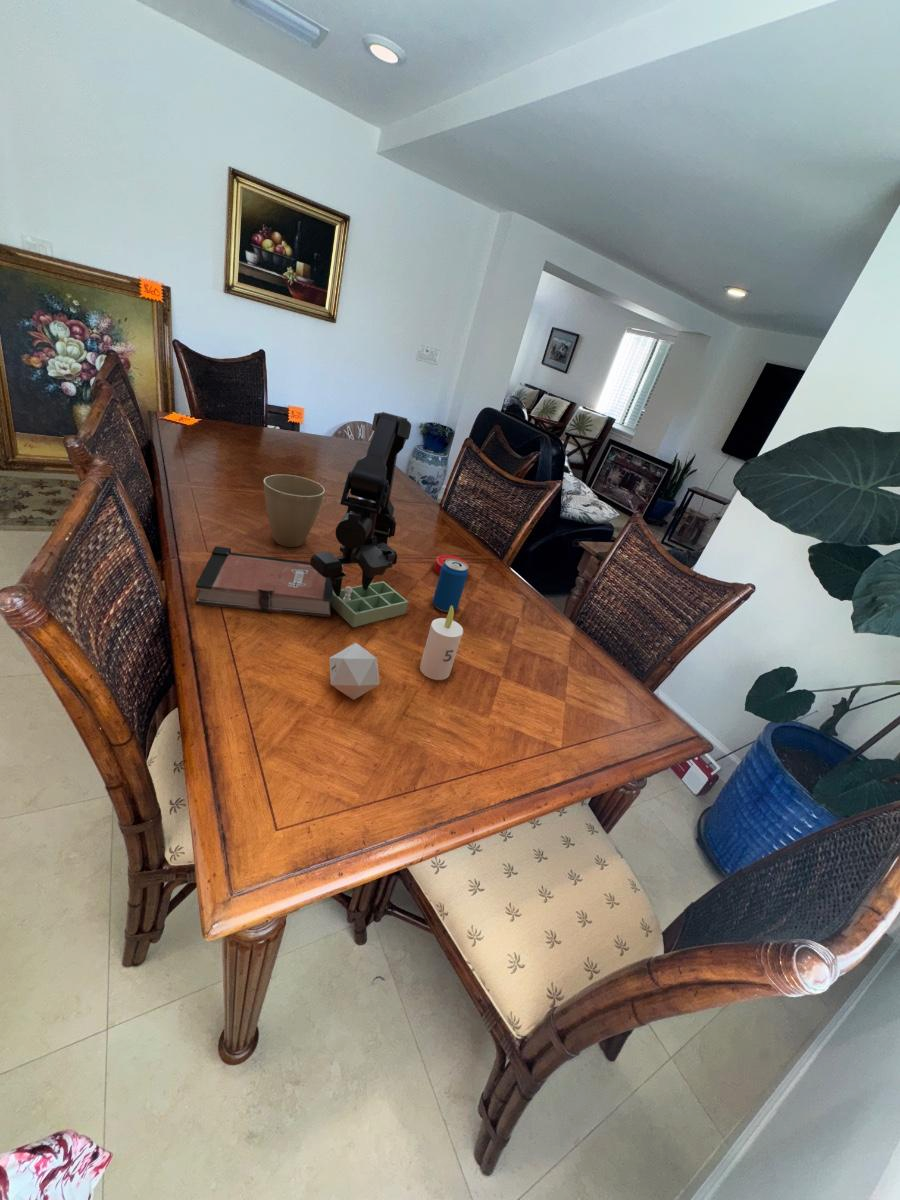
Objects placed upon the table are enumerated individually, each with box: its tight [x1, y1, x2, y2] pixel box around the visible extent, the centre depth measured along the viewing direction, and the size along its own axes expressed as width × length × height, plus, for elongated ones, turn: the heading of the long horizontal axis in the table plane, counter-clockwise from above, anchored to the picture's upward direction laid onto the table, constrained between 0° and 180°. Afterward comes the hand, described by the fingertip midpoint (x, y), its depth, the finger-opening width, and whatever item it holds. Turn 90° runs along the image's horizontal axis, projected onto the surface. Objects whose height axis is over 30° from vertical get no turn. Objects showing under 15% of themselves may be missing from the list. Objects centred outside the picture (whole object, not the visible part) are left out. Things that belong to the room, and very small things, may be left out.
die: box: [328, 642, 381, 701], centre depth 85 cm, size 8×9×10 cm
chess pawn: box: [343, 585, 352, 602], centre depth 107 cm, size 3×3×5 cm
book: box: [195, 545, 334, 618], centre depth 106 cm, size 26×18×5 cm
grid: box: [331, 580, 409, 628], centre depth 110 cm, size 10×15×3 cm
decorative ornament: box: [433, 554, 470, 576], centre depth 138 cm, size 10×10×3 cm
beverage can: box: [432, 559, 469, 613], centre depth 117 cm, size 6×6×12 cm
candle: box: [419, 605, 464, 681], centre depth 94 cm, size 6×6×15 cm
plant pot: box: [263, 473, 326, 548], centre depth 126 cm, size 15×15×16 cm
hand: (351, 592), depth 107 cm, fingers open, 7 cm apart
